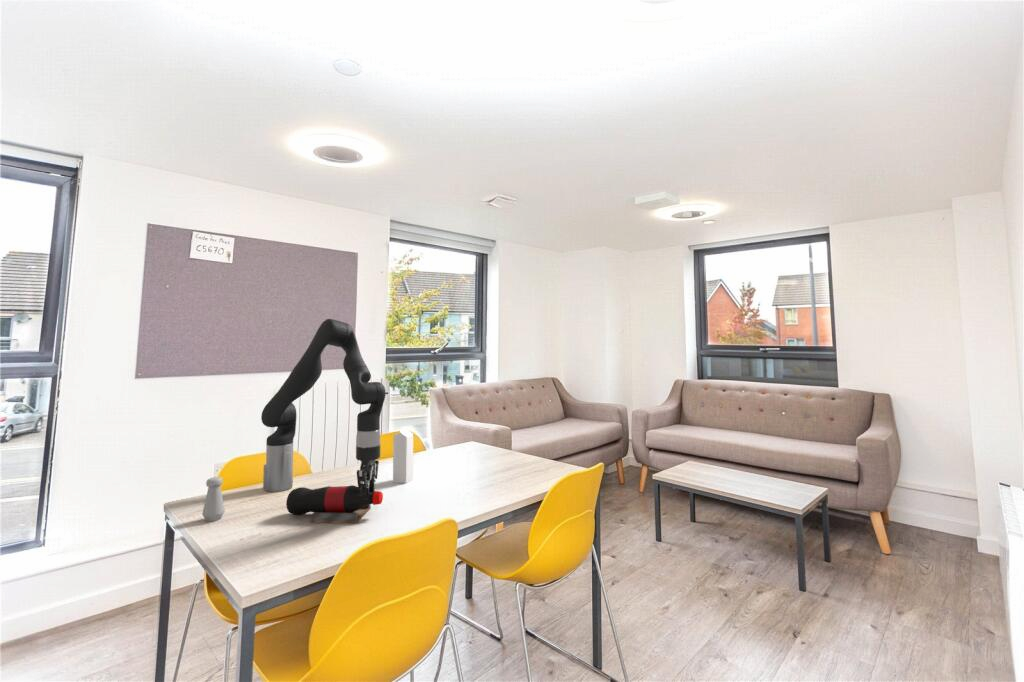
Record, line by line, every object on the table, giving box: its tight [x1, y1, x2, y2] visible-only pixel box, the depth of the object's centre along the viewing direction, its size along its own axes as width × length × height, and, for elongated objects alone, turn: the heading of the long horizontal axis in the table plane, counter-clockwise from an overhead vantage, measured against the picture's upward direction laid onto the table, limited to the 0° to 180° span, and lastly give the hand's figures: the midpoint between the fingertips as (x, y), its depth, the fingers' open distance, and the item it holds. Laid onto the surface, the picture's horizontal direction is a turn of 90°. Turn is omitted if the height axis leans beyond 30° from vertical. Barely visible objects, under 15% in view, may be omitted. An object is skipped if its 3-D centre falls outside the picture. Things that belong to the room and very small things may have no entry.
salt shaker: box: [202, 476, 226, 523], centre depth 141 cm, size 6×6×13 cm
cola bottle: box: [286, 484, 384, 516], centre depth 144 cm, size 8×8×30 cm
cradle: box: [310, 504, 372, 525], centre depth 144 cm, size 14×13×3 cm
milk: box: [392, 425, 414, 484], centre depth 183 cm, size 6×6×22 cm
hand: (367, 496), depth 144 cm, fingers open, 4 cm apart
